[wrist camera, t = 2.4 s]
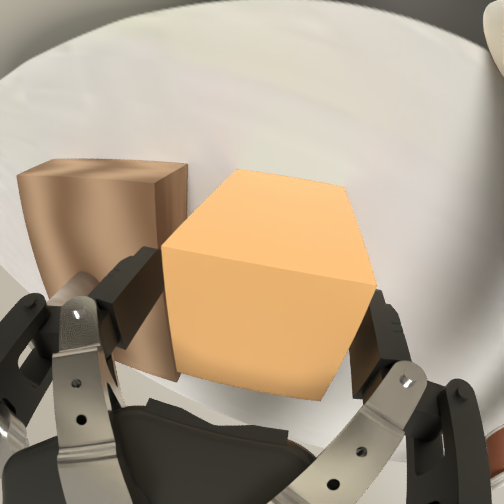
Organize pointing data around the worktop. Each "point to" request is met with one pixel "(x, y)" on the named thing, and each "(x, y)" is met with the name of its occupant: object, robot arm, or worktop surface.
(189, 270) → the peach foam cube
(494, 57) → the cylindrical container
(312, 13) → the worktop surface
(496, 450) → the coffee cup
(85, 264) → the brown slab
